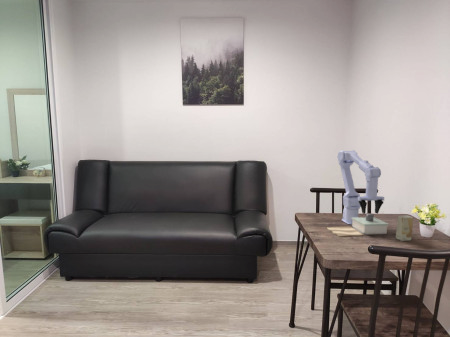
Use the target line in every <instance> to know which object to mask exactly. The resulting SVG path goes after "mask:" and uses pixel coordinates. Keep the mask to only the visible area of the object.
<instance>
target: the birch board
mask: <svg viewBox="0 0 450 337" xmlns="http://www.w3.org/2000/svg"><path fill="white" fill-rule="evenodd" d="M326 229H327V230H328V231H330V232H331V233H332V234H334V235H335V236H337V237H339V238H340V237H341V238H342V237H361V236H362V237H363V236H364V234H362V233H361V232H359V231H357V230H356V229H354V228H352V227H351V226H328V227H326Z"/></svg>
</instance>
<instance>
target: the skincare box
mask: <svg viewBox="0 0 450 337" xmlns="http://www.w3.org/2000/svg"><path fill="white" fill-rule="evenodd" d="M396 222H397V223H396V232H395V239H397V240H398V241H400V242H403V241H404V242H406V241H412V233H413V225H414V224H413V223H414V217H412V216H410V215H408V214H407V215H398V216H397V221H396Z"/></svg>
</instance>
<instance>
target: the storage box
mask: <svg viewBox="0 0 450 337" xmlns="http://www.w3.org/2000/svg"><path fill="white" fill-rule="evenodd" d="M351 226H352V227H351V228H353V229H355V230H356V231H358V232H360V233H361V234H363V236H364V235H386V234H387V232H388V225H376V226H364V225H362V224H360V223H358V222H356V221H355V220H353V223H352V224H351Z"/></svg>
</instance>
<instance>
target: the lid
mask: <svg viewBox="0 0 450 337" xmlns="http://www.w3.org/2000/svg"><path fill="white" fill-rule="evenodd" d="M352 219H353V220H355V221H356V222H358V223H360V224H362V225H364V226H376V225H387V226H389V223H388V222H386V221H384V220H381V219H379V218H377V217H376V216H375V214H374V213H365V216H358V217H352Z"/></svg>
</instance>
